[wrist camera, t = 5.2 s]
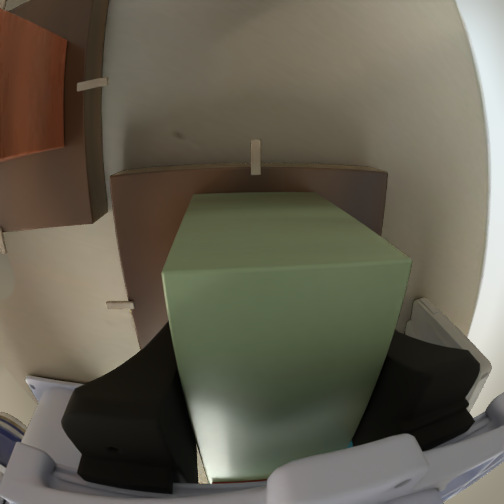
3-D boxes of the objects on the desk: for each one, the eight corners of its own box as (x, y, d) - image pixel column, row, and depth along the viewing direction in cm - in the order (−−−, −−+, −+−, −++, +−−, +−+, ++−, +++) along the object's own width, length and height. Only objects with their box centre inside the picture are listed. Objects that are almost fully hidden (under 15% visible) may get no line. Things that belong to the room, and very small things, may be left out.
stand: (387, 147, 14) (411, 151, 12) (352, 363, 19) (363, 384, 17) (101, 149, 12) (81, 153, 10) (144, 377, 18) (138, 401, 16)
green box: (192, 193, 11) (157, 278, 5) (316, 191, 12) (420, 264, 5) (209, 378, 15) (211, 496, 9) (298, 372, 16) (333, 482, 9)
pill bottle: (-10, 404, 18) (-40, 468, 9) (23, 418, 19) (-5, 490, 10) (10, 432, 20) (-13, 492, 11) (43, 445, 21) (23, 511, 12)
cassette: (405, 399, 22) (441, 460, 15) (388, 406, 22) (422, 470, 15) (429, 292, 17) (499, 360, 10) (407, 299, 17) (476, 374, 10)
